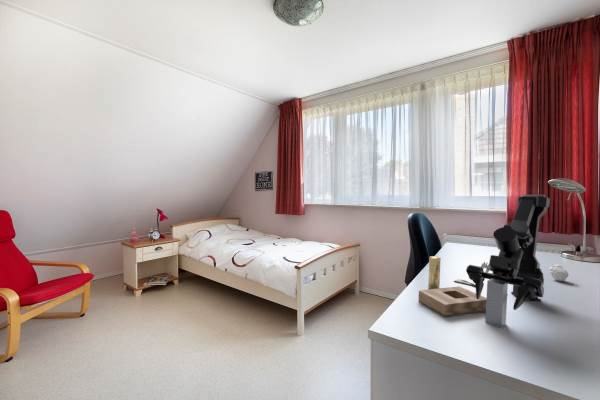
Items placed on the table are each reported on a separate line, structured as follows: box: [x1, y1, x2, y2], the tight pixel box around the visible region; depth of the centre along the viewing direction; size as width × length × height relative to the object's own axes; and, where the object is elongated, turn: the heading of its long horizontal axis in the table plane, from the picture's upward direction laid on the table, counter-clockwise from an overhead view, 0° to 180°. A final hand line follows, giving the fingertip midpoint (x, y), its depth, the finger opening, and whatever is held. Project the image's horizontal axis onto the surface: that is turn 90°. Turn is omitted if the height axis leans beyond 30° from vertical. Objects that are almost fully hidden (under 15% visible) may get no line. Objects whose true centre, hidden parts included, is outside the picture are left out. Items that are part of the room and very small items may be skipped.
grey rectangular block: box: [484, 278, 509, 330], centre depth 80 cm, size 4×4×13 cm
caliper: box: [480, 261, 493, 273], centre depth 124 cm, size 20×1×6 cm, turn 55°
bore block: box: [418, 286, 487, 318], centre depth 92 cm, size 18×12×4 cm, turn 105°
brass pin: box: [427, 255, 441, 290], centre depth 107 cm, size 4×4×13 cm
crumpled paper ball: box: [548, 264, 570, 282], centre depth 120 cm, size 6×7×7 cm
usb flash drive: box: [453, 278, 476, 288], centre depth 115 cm, size 9×5×1 cm, turn 17°
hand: (494, 303), depth 79 cm, fingers open, 9 cm apart
